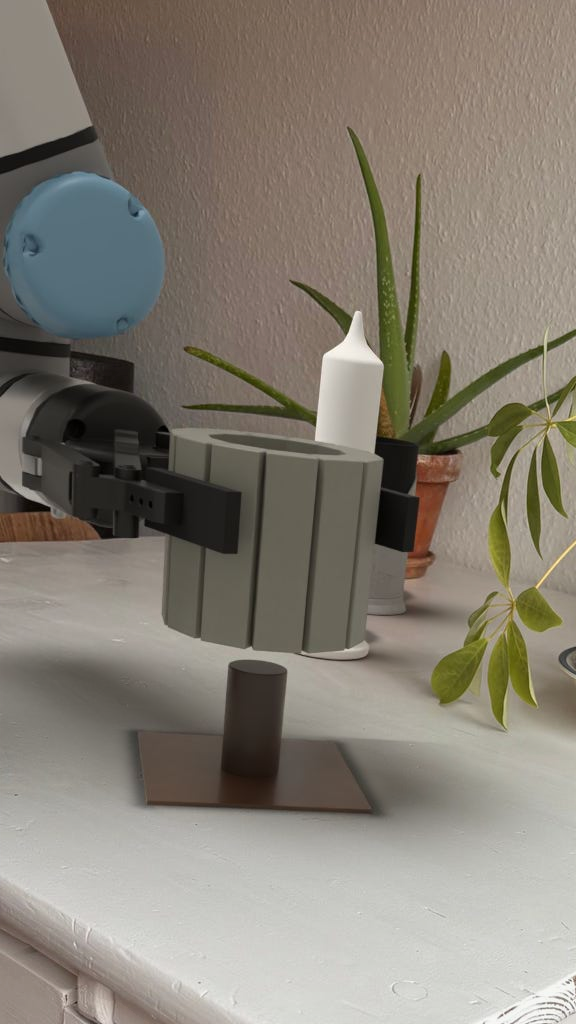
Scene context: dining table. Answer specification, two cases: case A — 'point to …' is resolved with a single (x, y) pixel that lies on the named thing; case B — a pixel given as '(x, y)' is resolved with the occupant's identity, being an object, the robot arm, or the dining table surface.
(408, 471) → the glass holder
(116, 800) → the dining table surface
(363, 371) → the candle
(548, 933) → the dining table surface
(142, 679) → the dining table surface
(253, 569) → the slatted planter pot
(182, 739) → the peg stand
